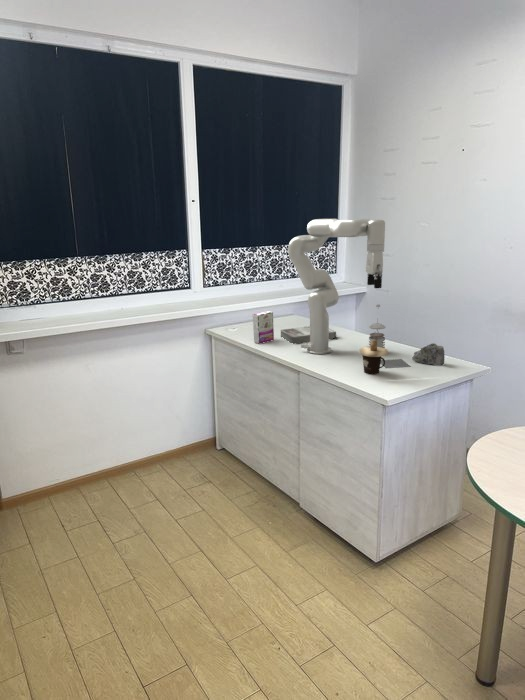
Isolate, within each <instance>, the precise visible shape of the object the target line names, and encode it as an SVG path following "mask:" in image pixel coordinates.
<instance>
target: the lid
mask: <svg viewBox="0 0 525 700" xmlns="http://www.w3.org/2000/svg"><path fill="white" fill-rule="evenodd" d="M359 354H360V355H362V356H363V355H364V356H369V357H382V358H383V357H386V356H388V355H389V350H388V349H387V348H386V347H385V348H382V347H377V340H375V339H373V340H371V347H369V346H364V347H361V348H360V349H359Z"/></svg>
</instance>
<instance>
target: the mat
mask: <svg viewBox="0 0 525 700" xmlns="http://www.w3.org/2000/svg"><path fill="white" fill-rule="evenodd" d="M384 360H385V365H384V366H383V368H385V369H394V368H397V369H398V368H410V367H412V365H410V364H409V363H407V362H406V361H404V360H403V359H402V358H399V359H398V358H394V359H384ZM383 364H384V361H383V360H382V359H381V363H380V365H381V366H382V365H383Z"/></svg>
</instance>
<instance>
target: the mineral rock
mask: <svg viewBox="0 0 525 700" xmlns="http://www.w3.org/2000/svg"><path fill="white" fill-rule="evenodd" d="M411 359H412V360H413V361H414V362H417V363H420V364H425V365H432V366H433V365H434V366H443V364H445V349H444V346H442V345H437V344H436V343H434V342H432V343H429V344H427V345H426V346H424V347H421V348H420V349H419V350H417V351H414V353H413V356H412V358H411Z"/></svg>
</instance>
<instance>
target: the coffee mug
mask: <svg viewBox="0 0 525 700" xmlns="http://www.w3.org/2000/svg"><path fill="white" fill-rule="evenodd" d="M381 360H383V361H384V364H383V365H382V364H380V363H381ZM385 360H386V359H385V358H383V356H382V357H369V356H364V355H362V363H363V373H364V374H366V375H377V374H379V373H380V369H383V368H384V365H385Z"/></svg>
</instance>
